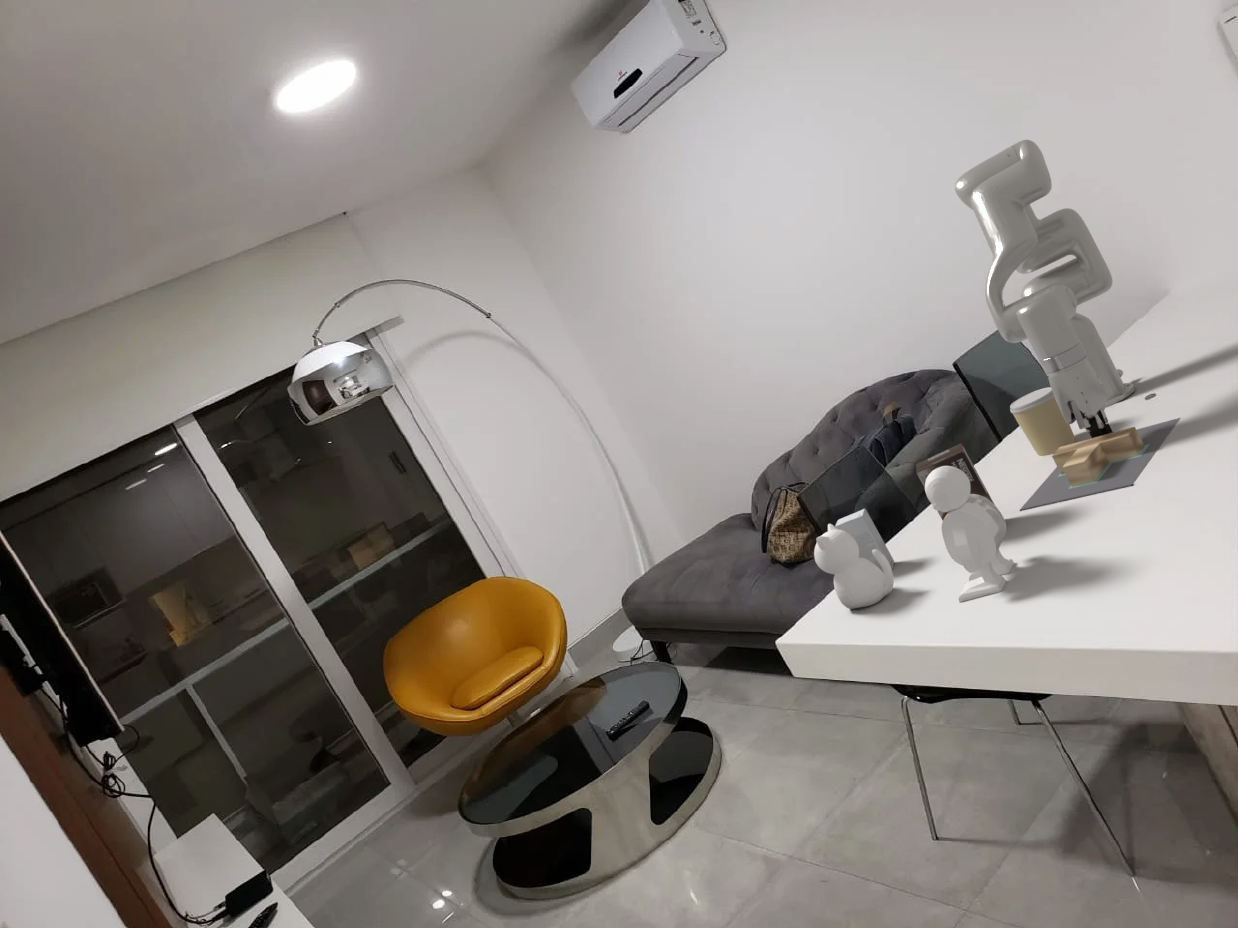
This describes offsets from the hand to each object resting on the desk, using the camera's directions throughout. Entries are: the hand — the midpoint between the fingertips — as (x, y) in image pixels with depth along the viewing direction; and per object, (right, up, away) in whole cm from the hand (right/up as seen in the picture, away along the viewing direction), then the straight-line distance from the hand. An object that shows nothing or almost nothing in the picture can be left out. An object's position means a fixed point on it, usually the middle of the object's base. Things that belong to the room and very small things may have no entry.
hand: (1107, 446), depth 164 cm
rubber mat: (-3, -3, -3) cm, 5 cm away
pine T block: (-5, -4, -5) cm, 8 cm away
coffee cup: (0, 0, +19) cm, 19 cm away
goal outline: (-5, -5, -5) cm, 8 cm away
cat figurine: (-46, -28, -7) cm, 54 cm away
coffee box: (-25, -16, -4) cm, 30 cm away
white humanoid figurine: (-32, -22, -26) cm, 46 cm away
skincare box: (-41, -24, +5) cm, 48 cm away
